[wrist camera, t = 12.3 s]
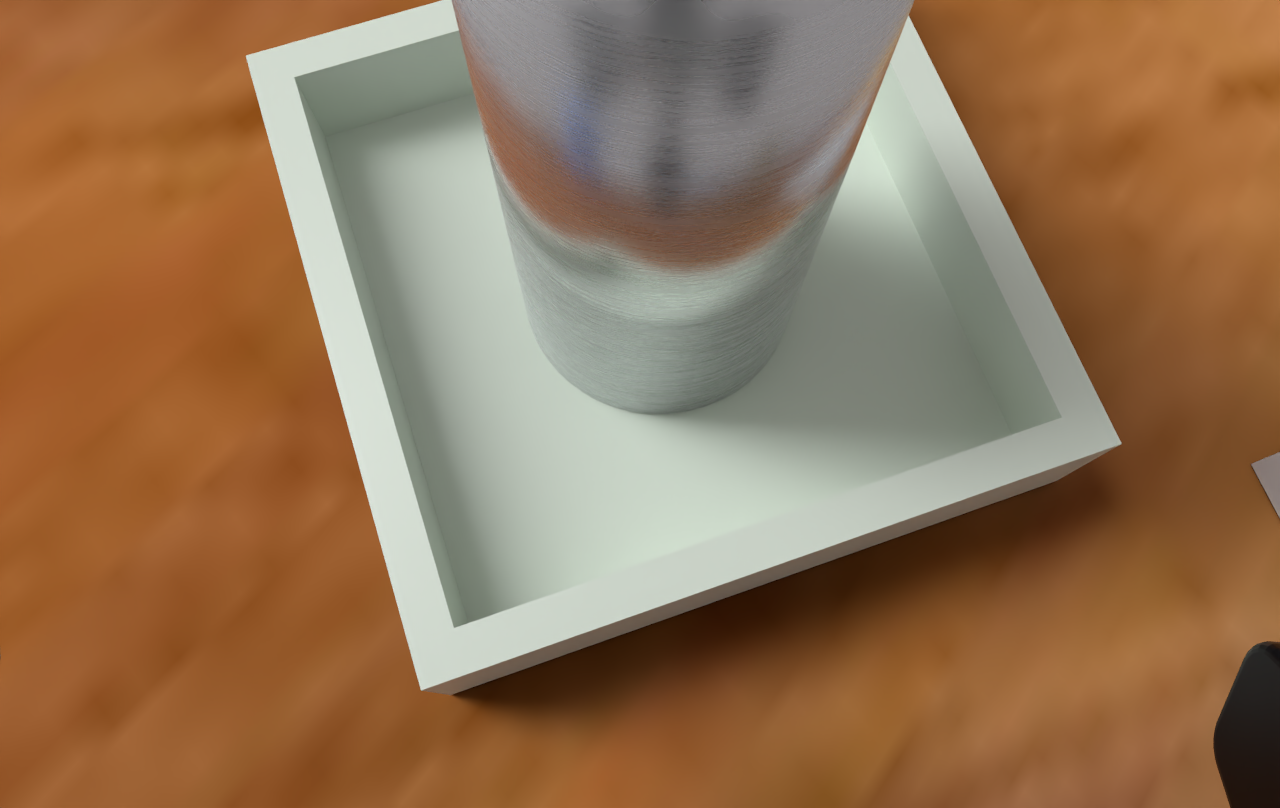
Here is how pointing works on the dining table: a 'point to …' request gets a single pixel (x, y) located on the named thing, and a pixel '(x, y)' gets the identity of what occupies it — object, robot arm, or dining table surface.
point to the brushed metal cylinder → (670, 174)
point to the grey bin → (1270, 478)
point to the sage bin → (638, 442)
